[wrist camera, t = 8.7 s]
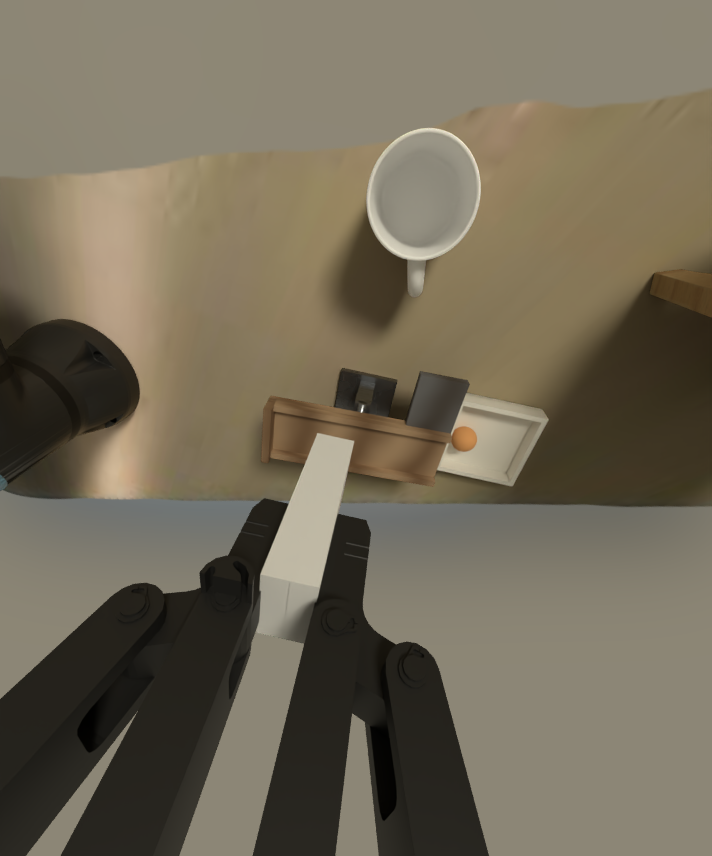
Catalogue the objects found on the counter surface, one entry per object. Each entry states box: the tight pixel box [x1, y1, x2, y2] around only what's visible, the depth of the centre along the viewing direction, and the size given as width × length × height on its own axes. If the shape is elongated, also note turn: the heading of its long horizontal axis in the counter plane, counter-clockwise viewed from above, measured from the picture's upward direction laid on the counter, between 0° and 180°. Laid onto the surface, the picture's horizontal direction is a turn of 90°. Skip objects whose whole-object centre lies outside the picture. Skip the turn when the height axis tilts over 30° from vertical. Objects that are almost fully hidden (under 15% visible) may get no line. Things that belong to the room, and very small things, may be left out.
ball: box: [451, 426, 477, 452], centre depth 46 cm, size 3×3×3 cm
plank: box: [261, 371, 470, 487], centre depth 39 cm, size 20×13×3 cm, turn 80°
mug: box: [366, 128, 481, 297], centre depth 32 cm, size 12×8×10 cm
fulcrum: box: [335, 368, 397, 417], centre depth 45 cm, size 7×10×7 cm
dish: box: [437, 393, 549, 486], centre depth 47 cm, size 11×11×3 cm
